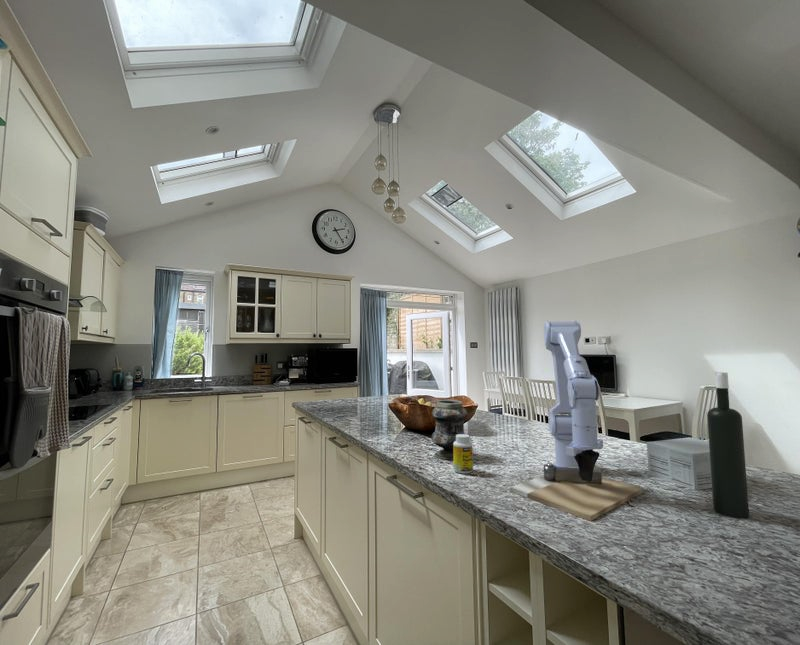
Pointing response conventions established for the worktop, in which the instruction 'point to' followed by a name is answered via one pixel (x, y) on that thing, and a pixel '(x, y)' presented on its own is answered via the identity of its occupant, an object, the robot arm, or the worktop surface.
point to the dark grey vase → (448, 426)
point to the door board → (578, 495)
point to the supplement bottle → (463, 454)
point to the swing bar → (568, 474)
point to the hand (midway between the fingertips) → (586, 480)
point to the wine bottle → (727, 455)
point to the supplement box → (681, 462)
